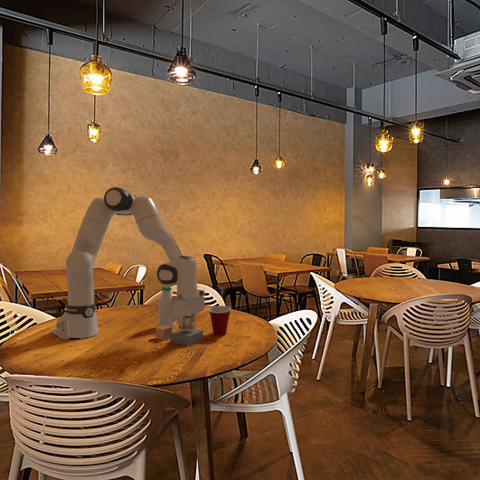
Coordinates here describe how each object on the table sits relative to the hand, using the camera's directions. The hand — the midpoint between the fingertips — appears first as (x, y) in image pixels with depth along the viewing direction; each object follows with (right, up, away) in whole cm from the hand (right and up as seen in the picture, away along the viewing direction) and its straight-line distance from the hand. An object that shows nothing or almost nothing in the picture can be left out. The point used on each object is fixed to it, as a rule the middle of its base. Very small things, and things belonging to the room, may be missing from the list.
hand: (186, 324), depth 171 cm
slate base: (0, -7, 0) cm, 7 cm away
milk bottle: (-13, -6, +22) cm, 26 cm away
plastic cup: (+14, -7, +12) cm, 19 cm away
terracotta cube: (-11, -7, +4) cm, 13 cm away
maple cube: (0, -2, 0) cm, 2 cm away
